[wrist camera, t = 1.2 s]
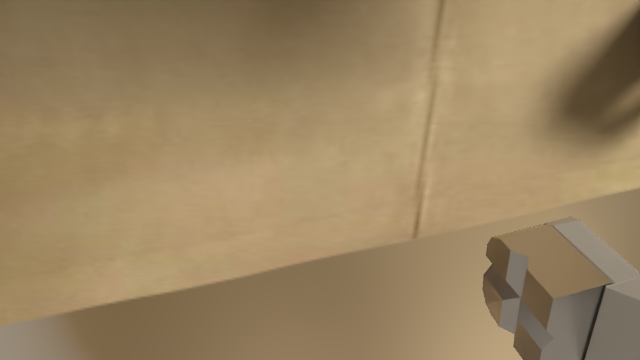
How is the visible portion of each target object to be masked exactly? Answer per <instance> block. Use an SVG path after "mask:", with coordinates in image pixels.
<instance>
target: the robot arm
mask: <svg viewBox="0 0 640 360" xmlns="http://www.w3.org/2000/svg"><path fill="white" fill-rule="evenodd" d="M486 256H487V258H488V259H489V260H490V261H491V263H492V265H491V266H490V267H489V268H488V270H487V271H486V272H485V273H484V277H483V293H484V297H485V302H486V305H487V307H488V309H489V311H490V313H491V315H492V317H493V318H494V320H495V321H496V323H497V324H498V325H499V327H502V328H503V329H505V330H508V331H510V332H512V333H514V348H515V349H516V350H517V352H518V353H519V355H520V356H521V357H522V359H523V360H640V273H639V272H638V271H637V270H636V269H634V268H633V267H632V266H631V265H630V264H629V263H628V262H626V261H625V260H624V259H623V258H622V257H621V256H620V255H619V254H617V253H616V252H615V251H614V250H613V249H612V248H611V247H610V246H608V245H607V244H606V243H605V242H604V241H603V240H602V239H601V238H599V237H598V236H597V235H596V234H595V233H594V232H593V231H591V230H590V229H589V228H588V227H587V226H586V225H585V224H584V223H582V222H581V221H580V220H579V219H576V218H573V217H567V218H563V219H560V220H556V221H552V222H548V223H545V224H543V225H537V226H533V227H529V228H526V229H522V230H518V231H514V232H510V233H506V234H503V235H499V236H495V237H492V238H491V239H490V241H489V243H488V244H487V251H486Z"/></svg>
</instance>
